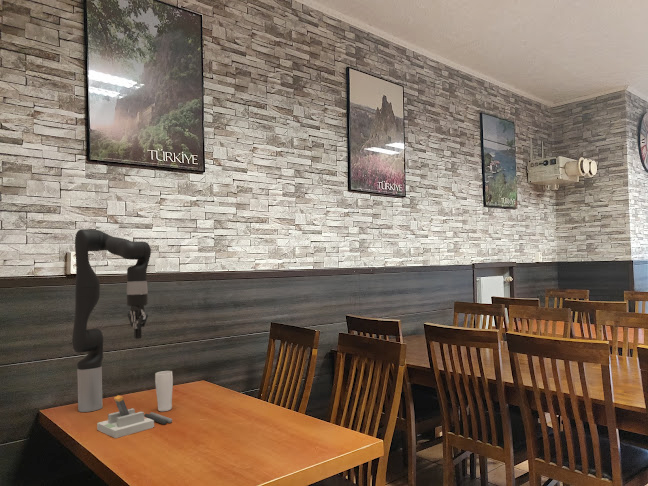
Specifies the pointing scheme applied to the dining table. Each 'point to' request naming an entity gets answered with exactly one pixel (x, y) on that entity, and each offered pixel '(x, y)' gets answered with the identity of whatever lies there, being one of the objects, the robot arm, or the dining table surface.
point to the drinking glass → (164, 390)
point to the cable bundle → (158, 418)
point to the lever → (121, 405)
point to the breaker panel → (125, 429)
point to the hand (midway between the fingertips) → (137, 338)
